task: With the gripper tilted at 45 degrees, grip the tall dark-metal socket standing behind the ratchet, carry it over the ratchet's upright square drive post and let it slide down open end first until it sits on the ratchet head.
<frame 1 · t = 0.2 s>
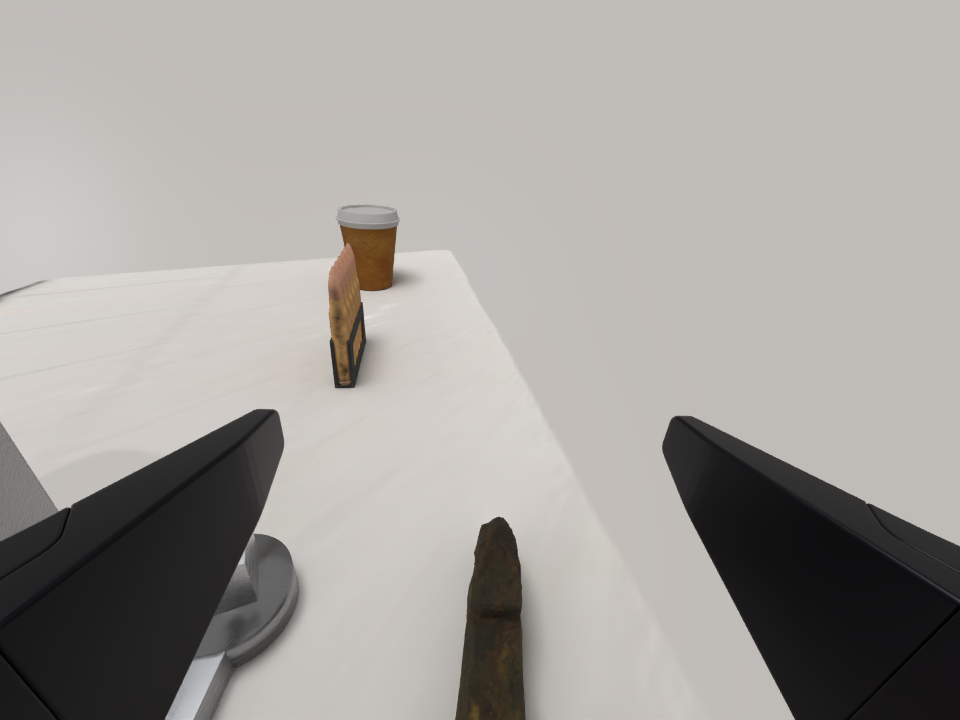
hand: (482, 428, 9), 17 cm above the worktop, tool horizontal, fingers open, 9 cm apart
socket: (32, 688, 17), on the worktop
ammunition clip: (352, 363, 44), on the worktop
disposable coffee cup: (372, 285, 67), on the worktop
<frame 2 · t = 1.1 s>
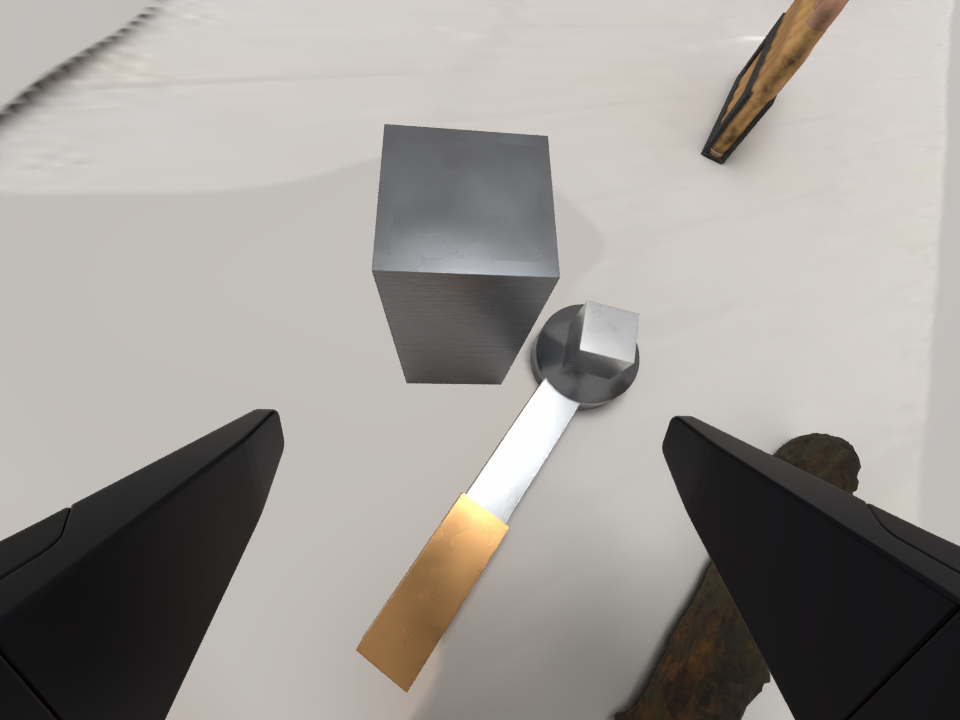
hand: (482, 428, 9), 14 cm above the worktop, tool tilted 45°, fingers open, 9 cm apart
socket: (454, 339, 24), on the worktop
hand tool: (712, 565, 22), on the worktop
ammunition clip: (728, 120, 33), on the worktop
ratchet: (502, 477, 22), on the worktop
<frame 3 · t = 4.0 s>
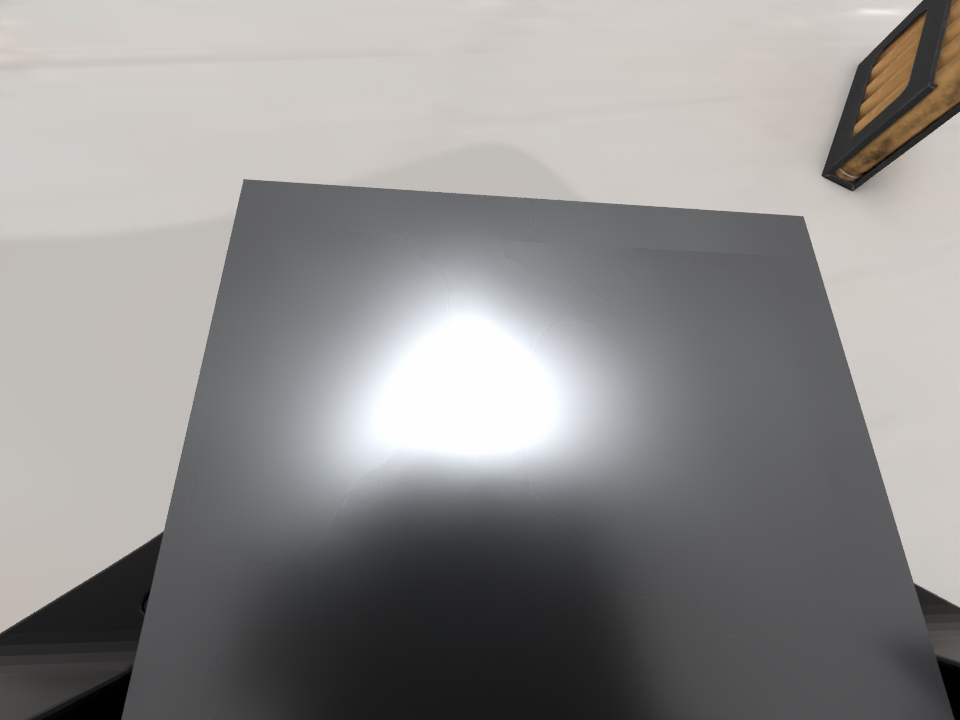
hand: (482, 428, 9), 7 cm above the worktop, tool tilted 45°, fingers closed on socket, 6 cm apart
socket: (464, 490, 15), on the worktop, touching gripper
ammunition clip: (852, 126, 24), on the worktop
when the fingers open (9 cm above the worktop, at t = 8.0 s): socket stays where it is, resting on ratchet.
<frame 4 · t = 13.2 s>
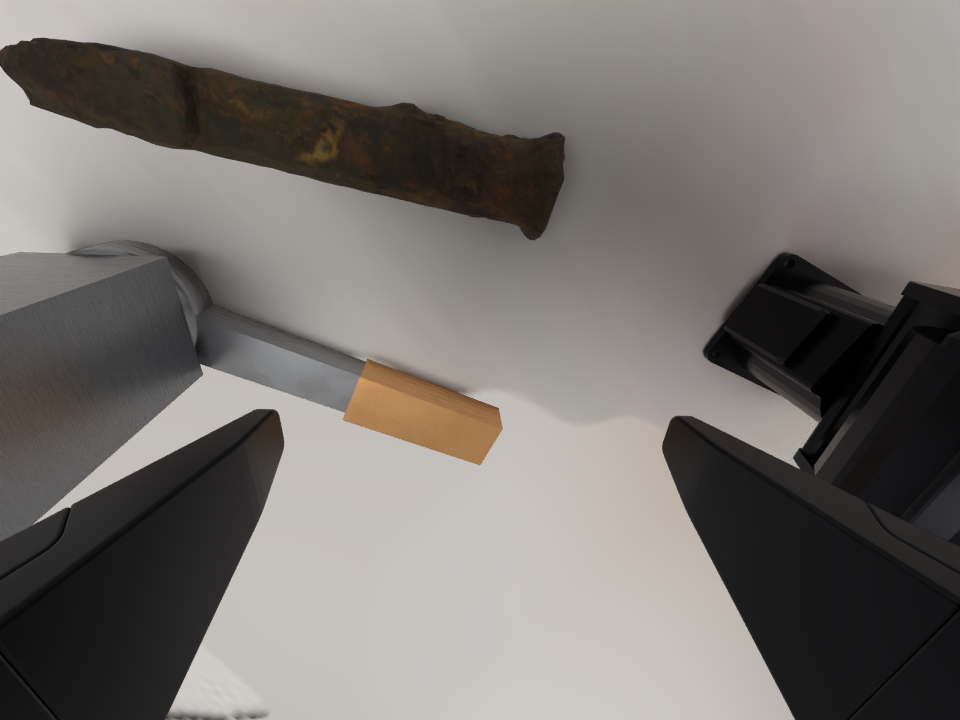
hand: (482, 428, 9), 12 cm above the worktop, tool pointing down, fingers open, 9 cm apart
socket: (119, 318, 17), point 2 cm above the worktop, touching ratchet
hand tool: (331, 153, 17), on the worktop
ratchet: (322, 366, 21), on the worktop, touching socket
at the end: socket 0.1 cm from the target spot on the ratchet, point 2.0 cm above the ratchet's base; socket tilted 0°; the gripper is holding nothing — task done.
